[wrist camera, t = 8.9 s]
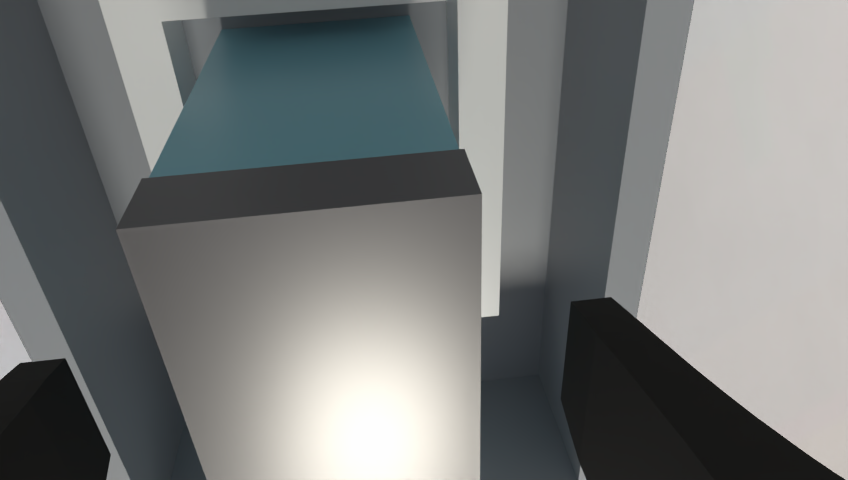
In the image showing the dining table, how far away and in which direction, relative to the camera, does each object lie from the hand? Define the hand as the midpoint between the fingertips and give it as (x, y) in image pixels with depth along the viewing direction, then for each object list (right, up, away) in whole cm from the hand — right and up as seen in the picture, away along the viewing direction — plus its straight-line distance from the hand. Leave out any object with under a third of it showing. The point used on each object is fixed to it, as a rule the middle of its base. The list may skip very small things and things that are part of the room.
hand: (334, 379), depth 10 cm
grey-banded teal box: (-1, +4, +6) cm, 7 cm away
